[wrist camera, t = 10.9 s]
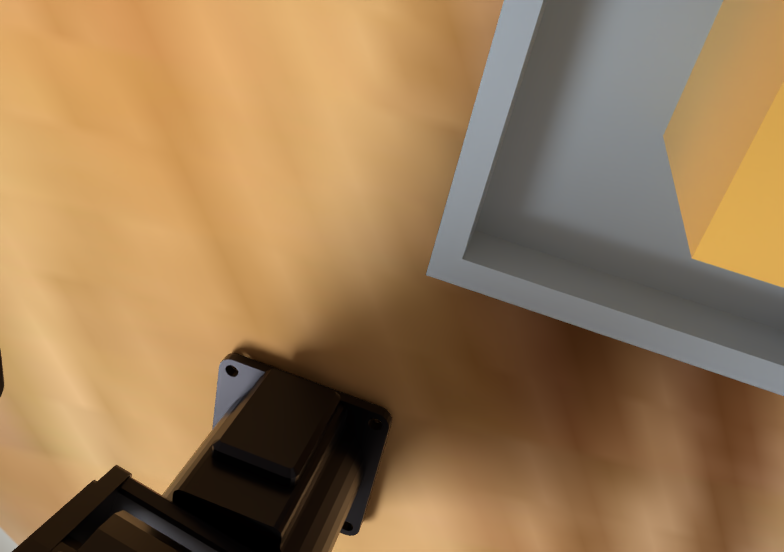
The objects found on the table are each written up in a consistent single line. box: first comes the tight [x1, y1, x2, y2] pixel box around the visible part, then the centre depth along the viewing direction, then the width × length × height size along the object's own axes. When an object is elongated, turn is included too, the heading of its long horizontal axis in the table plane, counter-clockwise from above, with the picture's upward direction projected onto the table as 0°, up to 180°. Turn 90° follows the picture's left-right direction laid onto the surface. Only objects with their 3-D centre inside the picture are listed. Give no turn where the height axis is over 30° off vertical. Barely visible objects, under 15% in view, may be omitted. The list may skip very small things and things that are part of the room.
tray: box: [426, 0, 784, 396], centre depth 15 cm, size 14×12×2 cm
